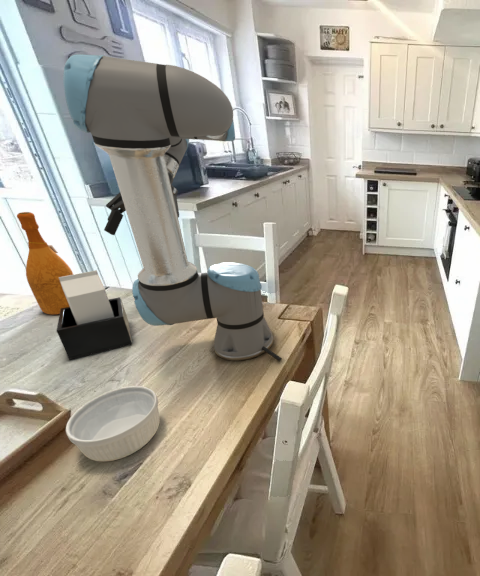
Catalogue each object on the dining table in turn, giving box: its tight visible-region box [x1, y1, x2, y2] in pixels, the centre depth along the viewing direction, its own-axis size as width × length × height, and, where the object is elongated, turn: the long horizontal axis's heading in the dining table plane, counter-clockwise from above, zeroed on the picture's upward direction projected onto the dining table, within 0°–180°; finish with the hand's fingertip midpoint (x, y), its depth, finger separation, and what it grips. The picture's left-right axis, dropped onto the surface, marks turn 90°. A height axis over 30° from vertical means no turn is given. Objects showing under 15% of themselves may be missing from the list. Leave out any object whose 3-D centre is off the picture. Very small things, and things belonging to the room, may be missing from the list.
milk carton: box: [59, 269, 114, 325], centre depth 84 cm, size 7×7×19 cm
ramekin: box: [65, 385, 160, 462], centre depth 61 cm, size 13×13×7 cm
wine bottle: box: [16, 211, 74, 315], centre depth 94 cm, size 10×10×30 cm
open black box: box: [56, 296, 133, 361], centre depth 86 cm, size 13×13×9 cm
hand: (132, 235), depth 89 cm, fingers open, 13 cm apart
